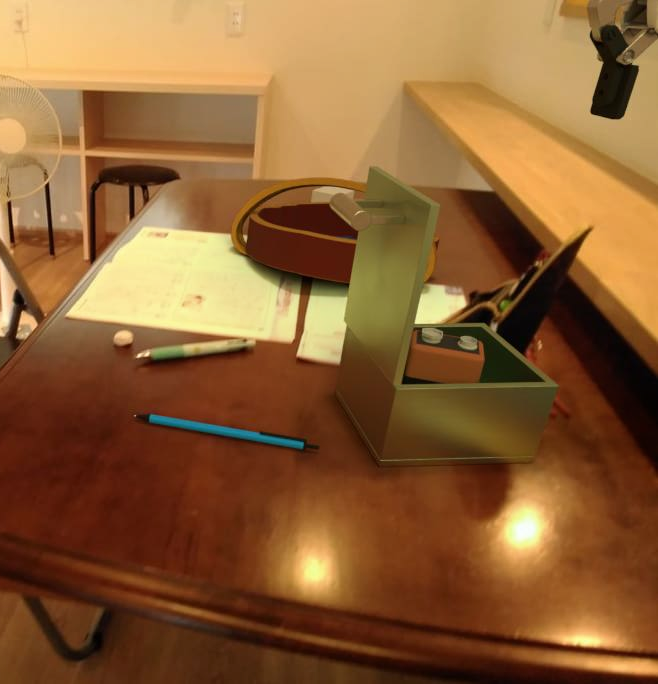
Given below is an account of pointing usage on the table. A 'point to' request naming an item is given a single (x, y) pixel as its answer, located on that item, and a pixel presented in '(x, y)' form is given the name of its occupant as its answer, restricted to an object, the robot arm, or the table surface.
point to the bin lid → (387, 265)
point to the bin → (448, 407)
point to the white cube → (329, 193)
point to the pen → (230, 432)
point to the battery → (442, 359)
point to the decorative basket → (303, 233)
